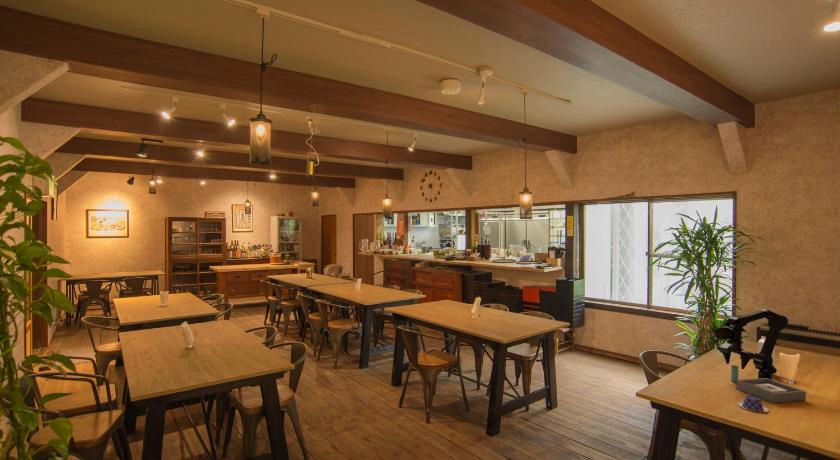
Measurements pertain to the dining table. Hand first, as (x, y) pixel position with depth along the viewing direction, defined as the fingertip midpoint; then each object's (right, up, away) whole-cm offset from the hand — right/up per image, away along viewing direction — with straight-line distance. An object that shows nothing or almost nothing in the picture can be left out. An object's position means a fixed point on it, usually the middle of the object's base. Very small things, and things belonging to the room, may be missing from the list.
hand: (735, 366), depth 245 cm
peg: (0, -9, 0) cm, 9 cm away
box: (+4, -9, -20) cm, 22 cm away
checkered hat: (-18, -9, -37) cm, 42 cm away
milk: (+30, -9, +16) cm, 35 cm away
